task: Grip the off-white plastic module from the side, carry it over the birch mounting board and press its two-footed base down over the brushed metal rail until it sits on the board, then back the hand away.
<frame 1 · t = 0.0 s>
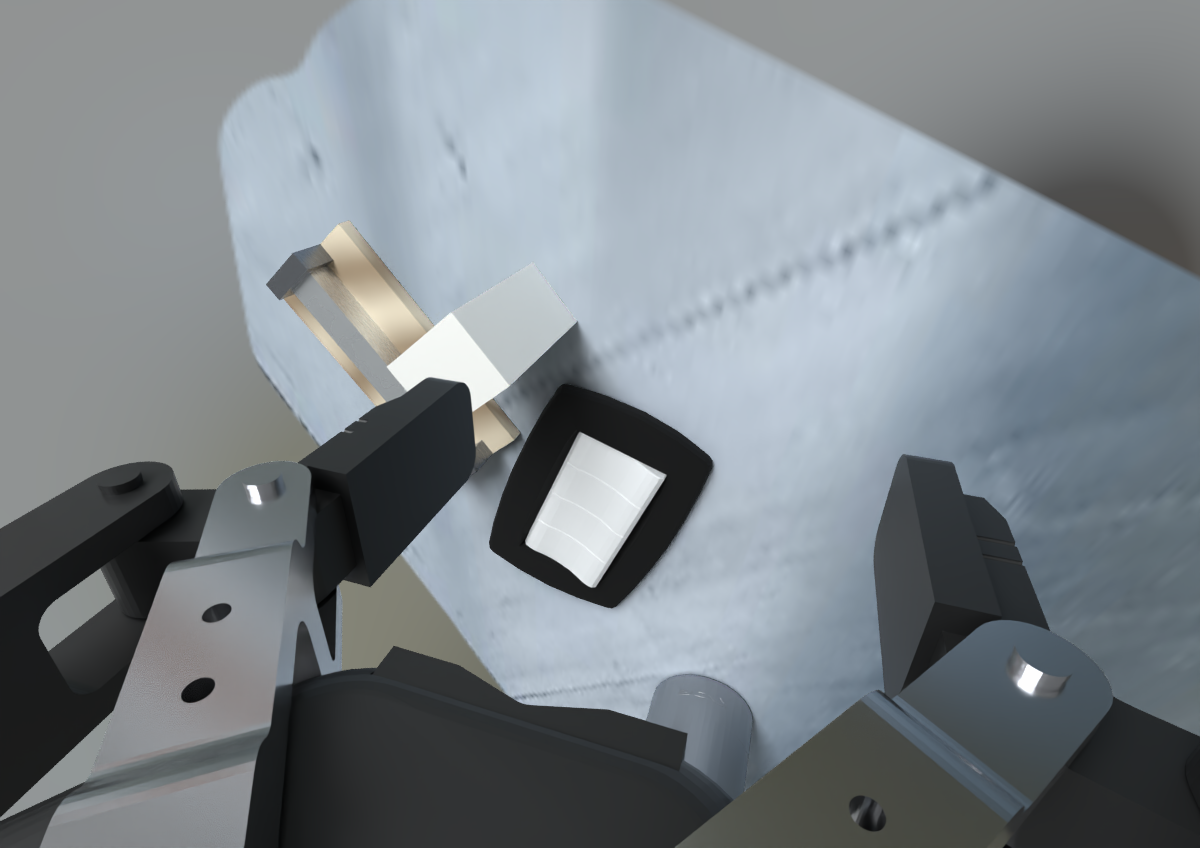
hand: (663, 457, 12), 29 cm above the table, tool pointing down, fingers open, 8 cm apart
module: (525, 315, 45), on the table
light switch: (595, 497, 51), on the table
rail: (384, 372, 48), on the mounting board, point 3 cm above the table
mounting board: (404, 360, 50), on the table
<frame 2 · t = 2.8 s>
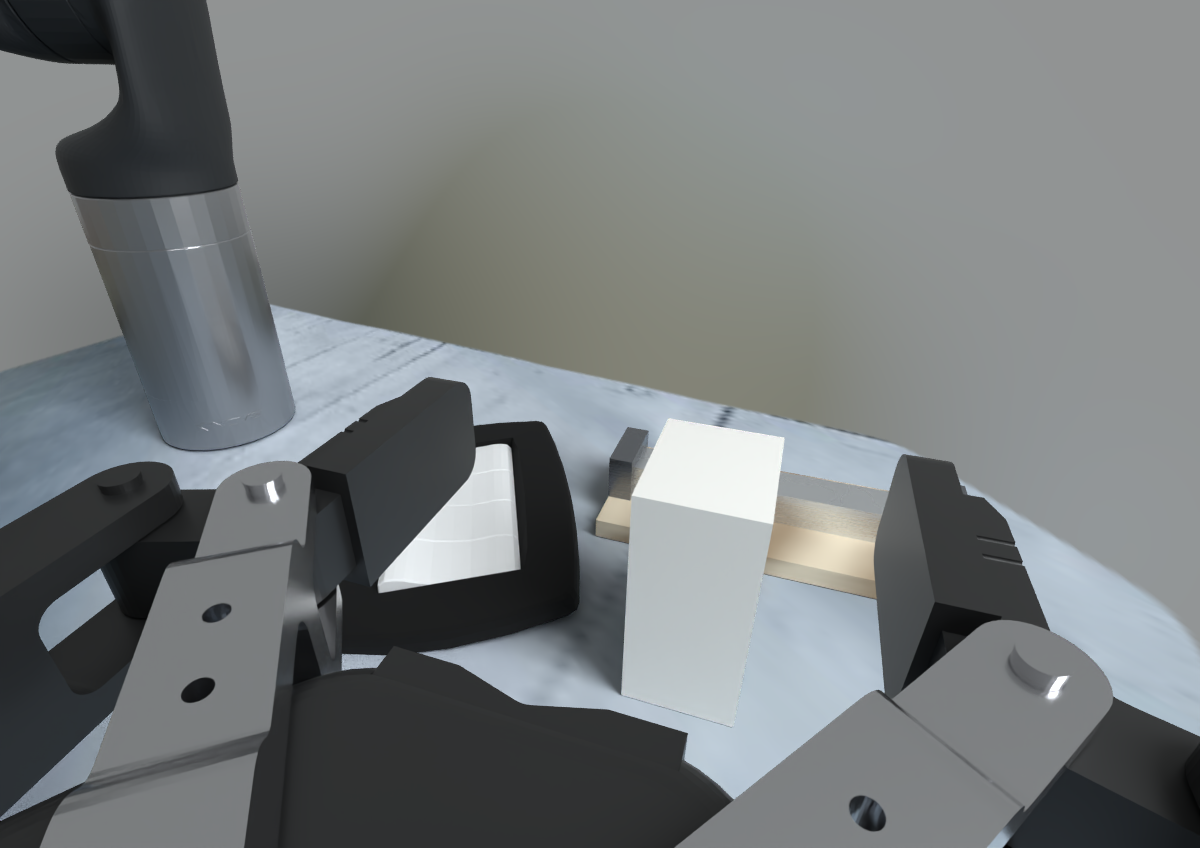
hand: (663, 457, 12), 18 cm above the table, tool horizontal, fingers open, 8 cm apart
module: (689, 657, 30), on the table
light switch: (460, 530, 39), on the table
rail: (778, 491, 37), on the mounting board, point 3 cm above the table
mounting board: (772, 525, 39), on the table
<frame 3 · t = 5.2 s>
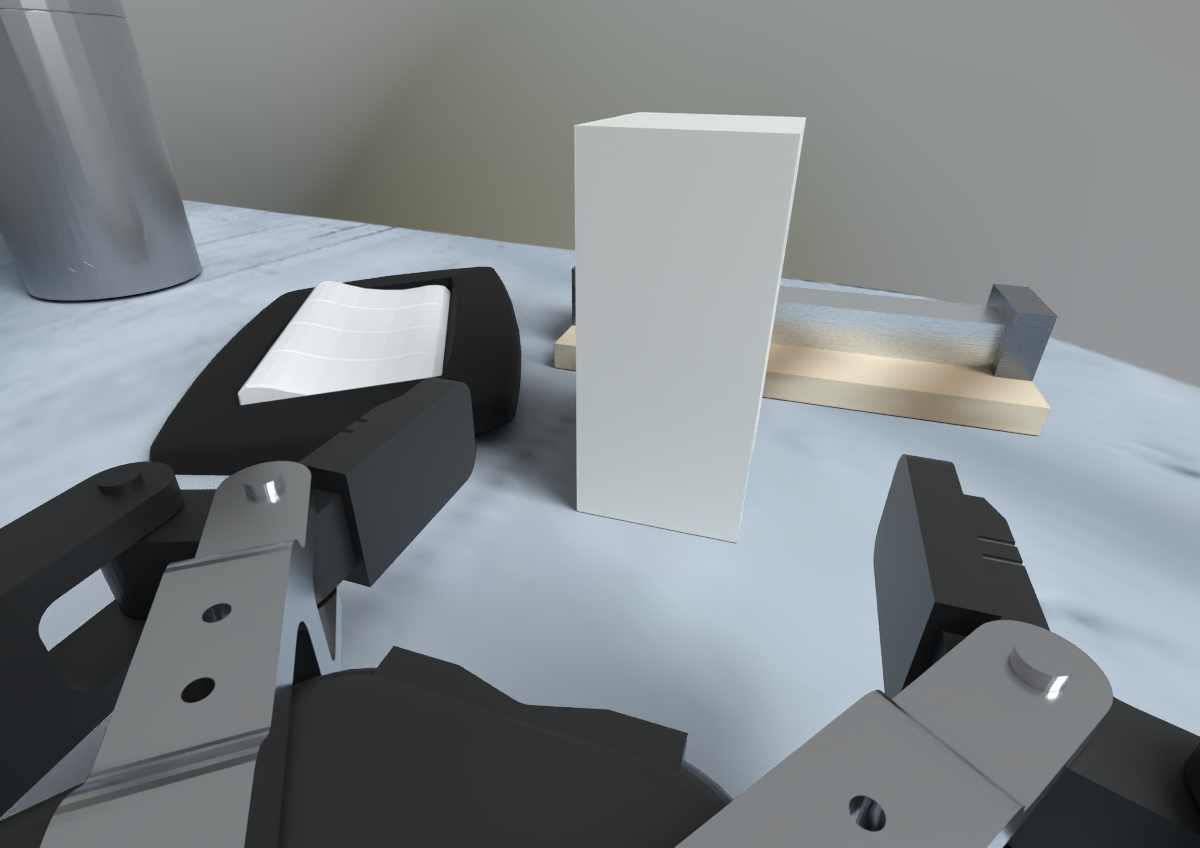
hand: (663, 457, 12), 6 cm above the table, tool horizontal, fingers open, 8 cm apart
module: (673, 473, 22), on the table
light switch: (376, 368, 30), on the table
rail: (788, 307, 29), on the mounting board, point 3 cm above the table
mounting board: (780, 358, 30), on the table
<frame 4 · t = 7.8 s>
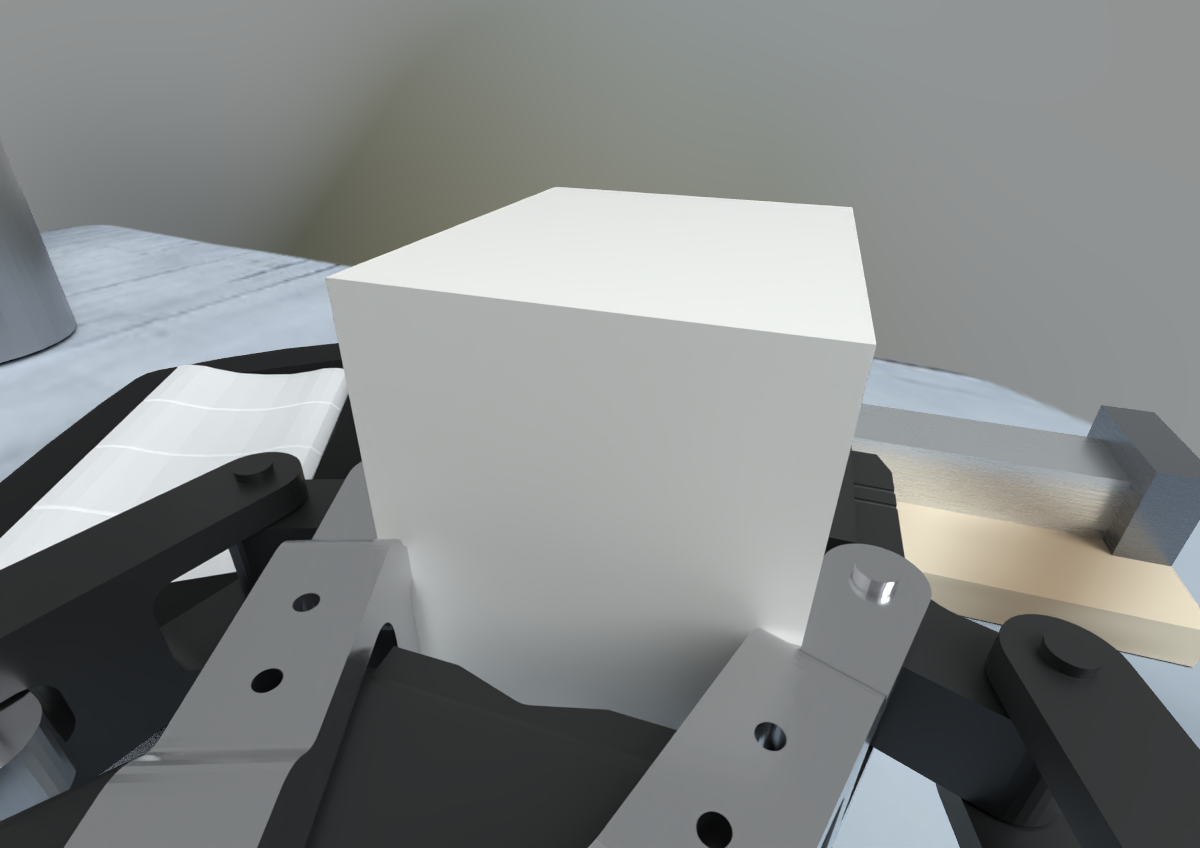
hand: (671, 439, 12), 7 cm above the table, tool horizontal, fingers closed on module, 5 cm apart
module: (622, 761, 13), on the table, touching gripper
light switch: (227, 501, 22), on the table
rail: (806, 428, 21), on the mounting board, point 3 cm above the table
mounting board: (793, 492, 22), on the table
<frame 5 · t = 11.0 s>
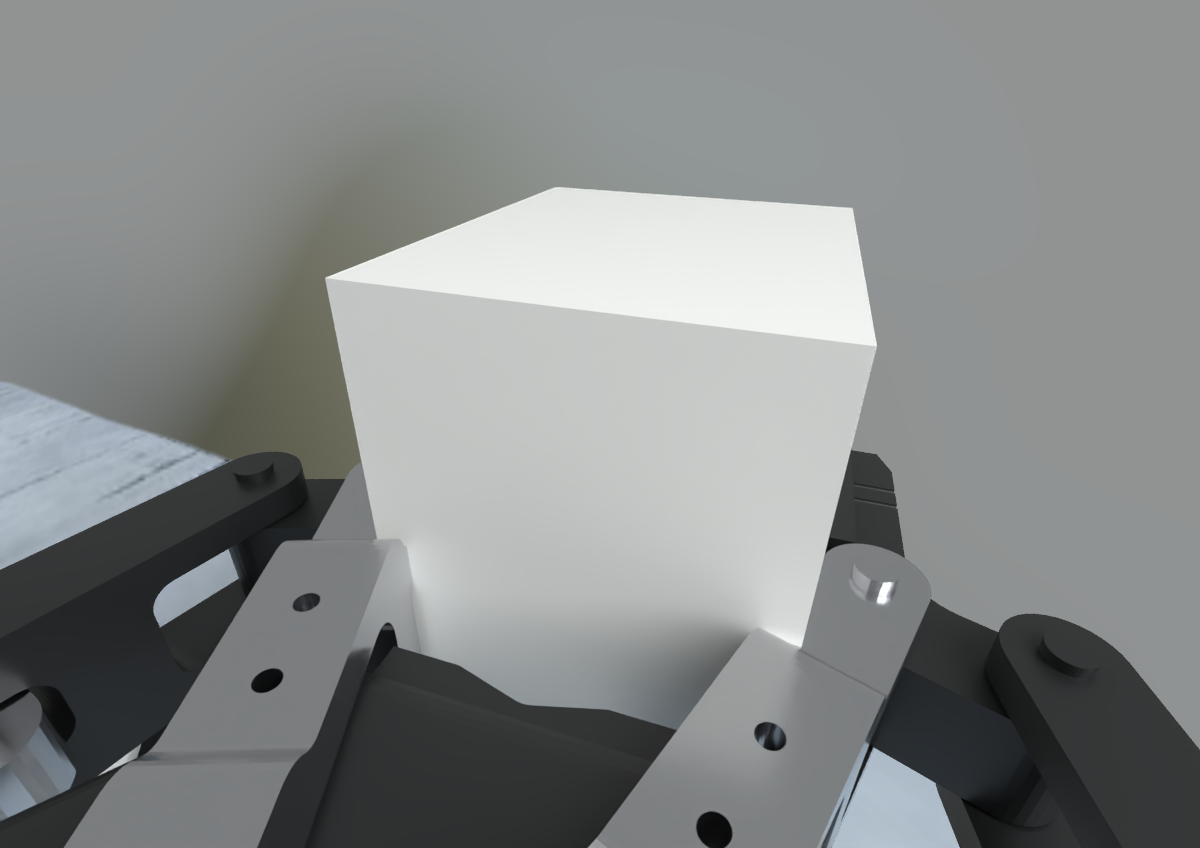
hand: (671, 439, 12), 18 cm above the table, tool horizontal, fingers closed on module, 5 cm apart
module: (621, 762, 13), point 11 cm above the table, touching gripper
when the fingers open (8 cm above the table, at t = 14.1 s): module stays where it is, resting on mounting board.
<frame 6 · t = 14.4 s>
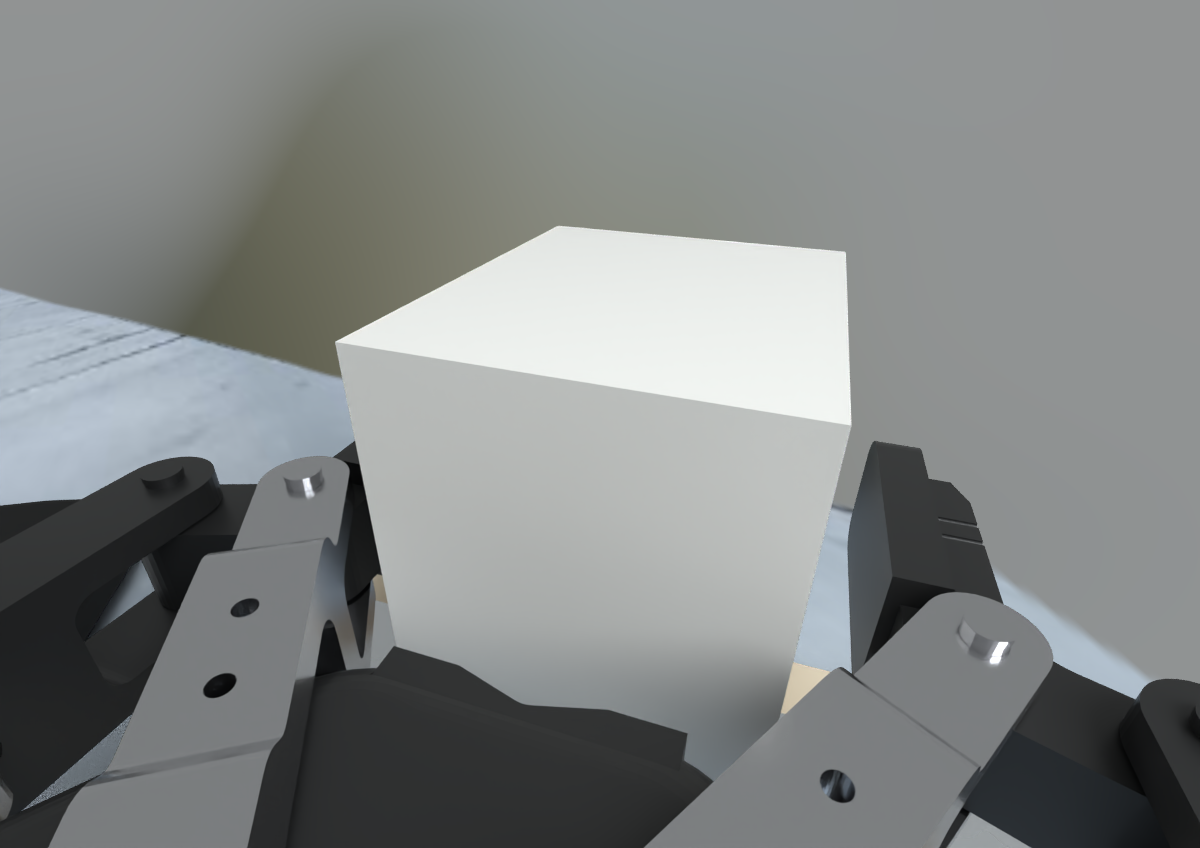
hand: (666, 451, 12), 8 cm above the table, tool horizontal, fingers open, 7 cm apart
module: (619, 781, 14), point 1 cm above the table, touching mounting board
rail: (624, 741, 13), on the mounting board, point 3 cm above the table
mounting board: (620, 813, 14), on the table
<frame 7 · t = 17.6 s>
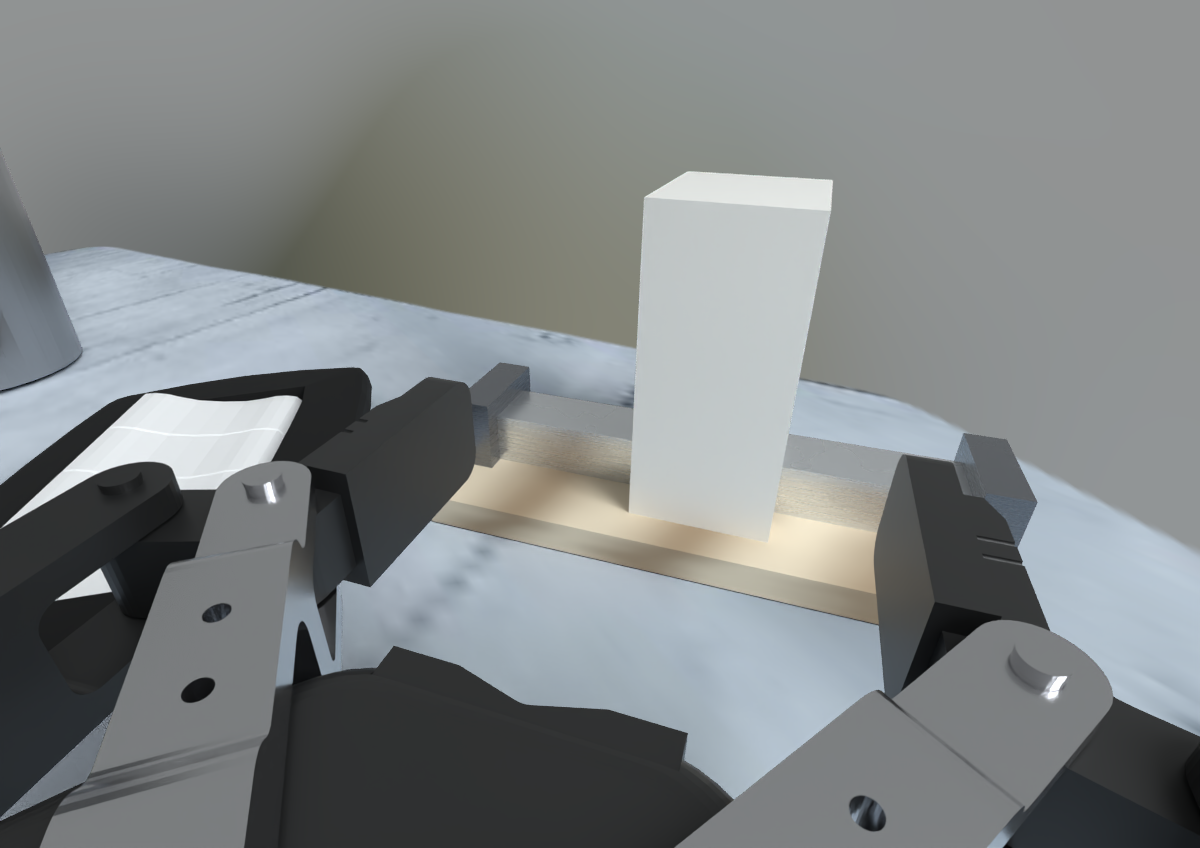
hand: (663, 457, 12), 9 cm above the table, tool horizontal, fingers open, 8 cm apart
module: (710, 481, 25), point 1 cm above the table, touching mounting board
light switch: (179, 517, 25), on the table
rail: (715, 451, 24), on the mounting board, point 3 cm above the table
mounting board: (708, 506, 25), on the table
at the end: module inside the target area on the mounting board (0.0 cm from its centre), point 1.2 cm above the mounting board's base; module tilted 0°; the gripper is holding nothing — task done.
